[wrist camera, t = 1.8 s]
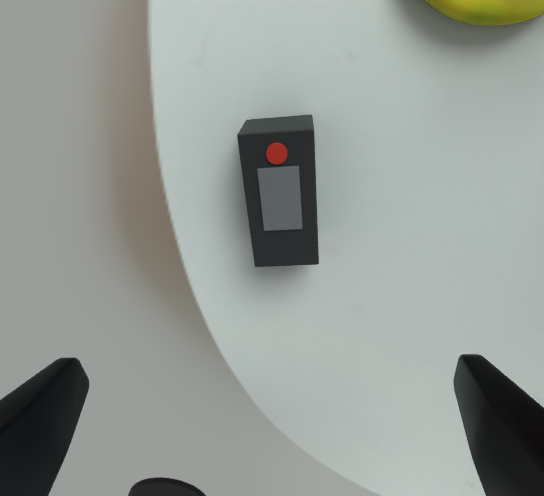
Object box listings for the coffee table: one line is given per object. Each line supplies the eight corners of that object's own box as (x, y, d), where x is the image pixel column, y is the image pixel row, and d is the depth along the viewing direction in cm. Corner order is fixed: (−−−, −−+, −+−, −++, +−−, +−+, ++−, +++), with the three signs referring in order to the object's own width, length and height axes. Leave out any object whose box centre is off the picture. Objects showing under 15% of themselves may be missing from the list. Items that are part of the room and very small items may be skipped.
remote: (316, 236, 21) (319, 266, 19) (260, 238, 22) (254, 269, 19) (312, 114, 18) (313, 129, 15) (245, 119, 18) (236, 135, 16)
